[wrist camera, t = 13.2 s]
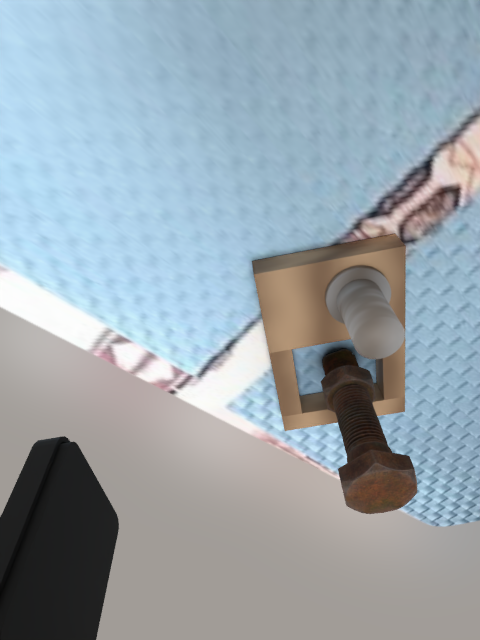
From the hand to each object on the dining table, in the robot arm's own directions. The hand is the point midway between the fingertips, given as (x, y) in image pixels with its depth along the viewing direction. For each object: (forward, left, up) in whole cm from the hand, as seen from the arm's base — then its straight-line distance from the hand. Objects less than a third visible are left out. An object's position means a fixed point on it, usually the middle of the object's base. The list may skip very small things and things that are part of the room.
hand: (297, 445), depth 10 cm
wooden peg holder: (-5, +18, -28) cm, 34 cm away
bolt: (-5, +21, -28) cm, 36 cm away
